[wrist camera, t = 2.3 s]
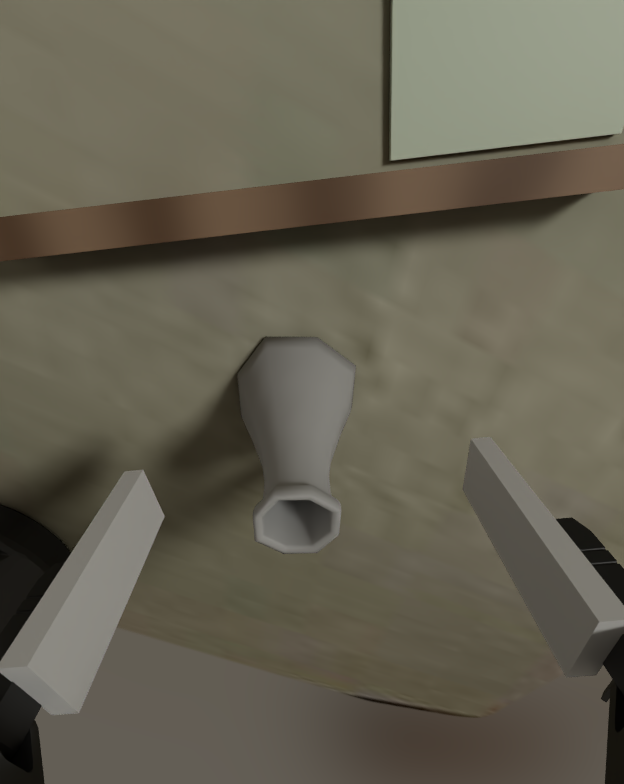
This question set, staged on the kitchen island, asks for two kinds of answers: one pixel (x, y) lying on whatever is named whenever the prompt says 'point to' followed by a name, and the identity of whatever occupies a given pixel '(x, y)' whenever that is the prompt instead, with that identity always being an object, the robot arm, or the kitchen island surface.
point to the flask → (296, 437)
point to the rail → (313, 202)
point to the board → (503, 73)
